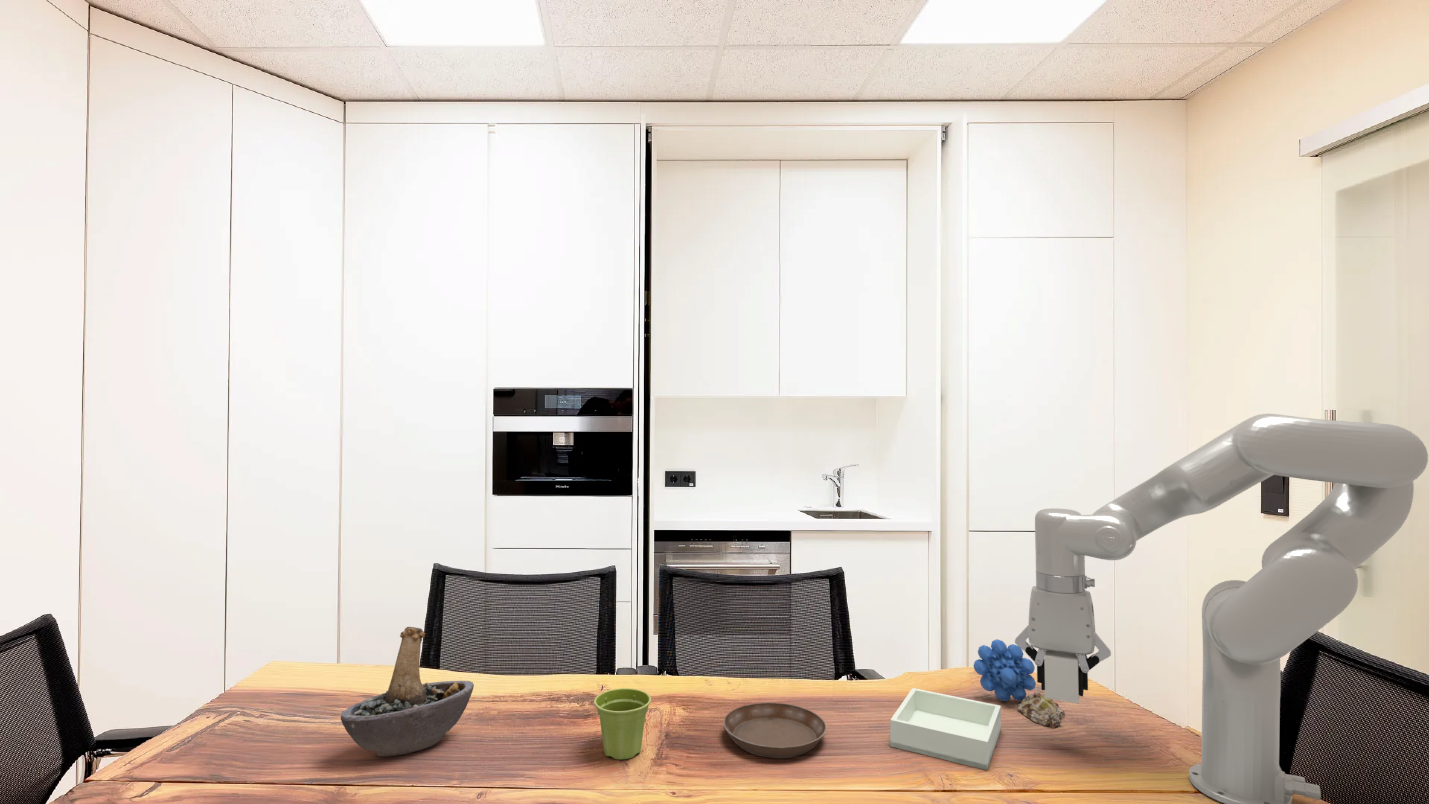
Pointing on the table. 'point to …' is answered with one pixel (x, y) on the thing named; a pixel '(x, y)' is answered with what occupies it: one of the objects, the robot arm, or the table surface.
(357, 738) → the planter
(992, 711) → the sage bin
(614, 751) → the plant pot
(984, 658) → the blue knobby lump
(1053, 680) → the stone block
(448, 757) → the table surface
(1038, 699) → the mineral rock
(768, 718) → the plant saucer
